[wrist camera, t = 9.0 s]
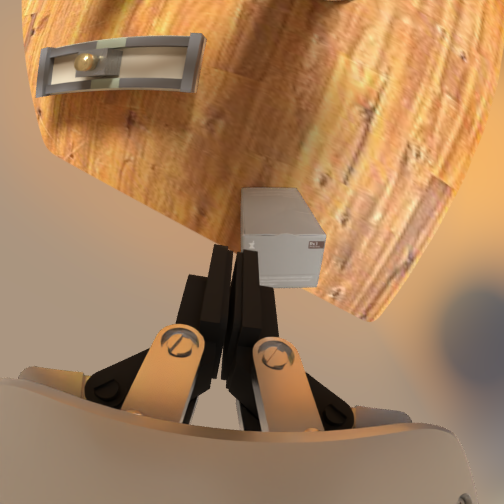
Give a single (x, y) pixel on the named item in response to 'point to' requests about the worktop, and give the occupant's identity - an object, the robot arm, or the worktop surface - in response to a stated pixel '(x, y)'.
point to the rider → (98, 62)
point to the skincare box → (282, 237)
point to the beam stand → (127, 65)
